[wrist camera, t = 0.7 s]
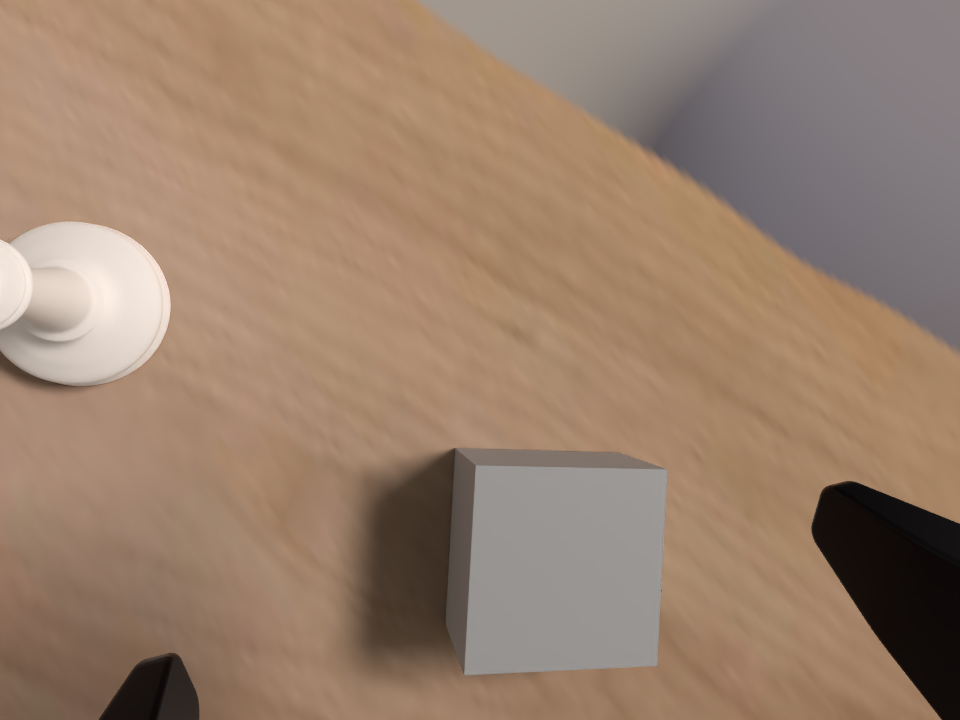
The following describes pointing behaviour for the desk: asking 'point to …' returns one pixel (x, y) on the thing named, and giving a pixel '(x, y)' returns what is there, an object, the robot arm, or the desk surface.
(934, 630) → the robot arm
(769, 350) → the desk surface
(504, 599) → the slate block
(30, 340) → the chess piece
